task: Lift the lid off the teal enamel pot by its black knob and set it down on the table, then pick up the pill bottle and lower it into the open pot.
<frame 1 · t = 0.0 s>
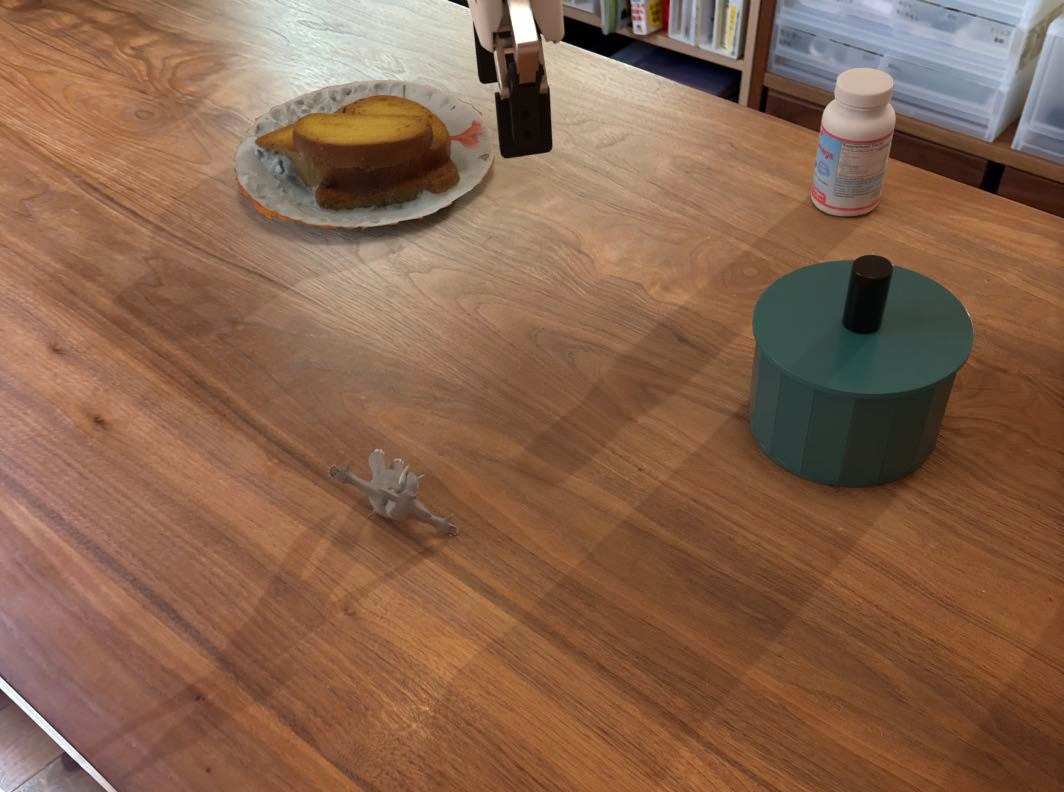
hand: (514, 114, 71), 22 cm above the table, tool pointing down, fingers open, 9 cm apart
food on plate: (368, 171, 109), on the table
pot: (841, 421, 81), on the table
lid: (860, 328, 75), point 8 cm above the table, touching pot
grey monster figurine: (391, 520, 78), on the table
pill bottle: (844, 202, 100), on the table
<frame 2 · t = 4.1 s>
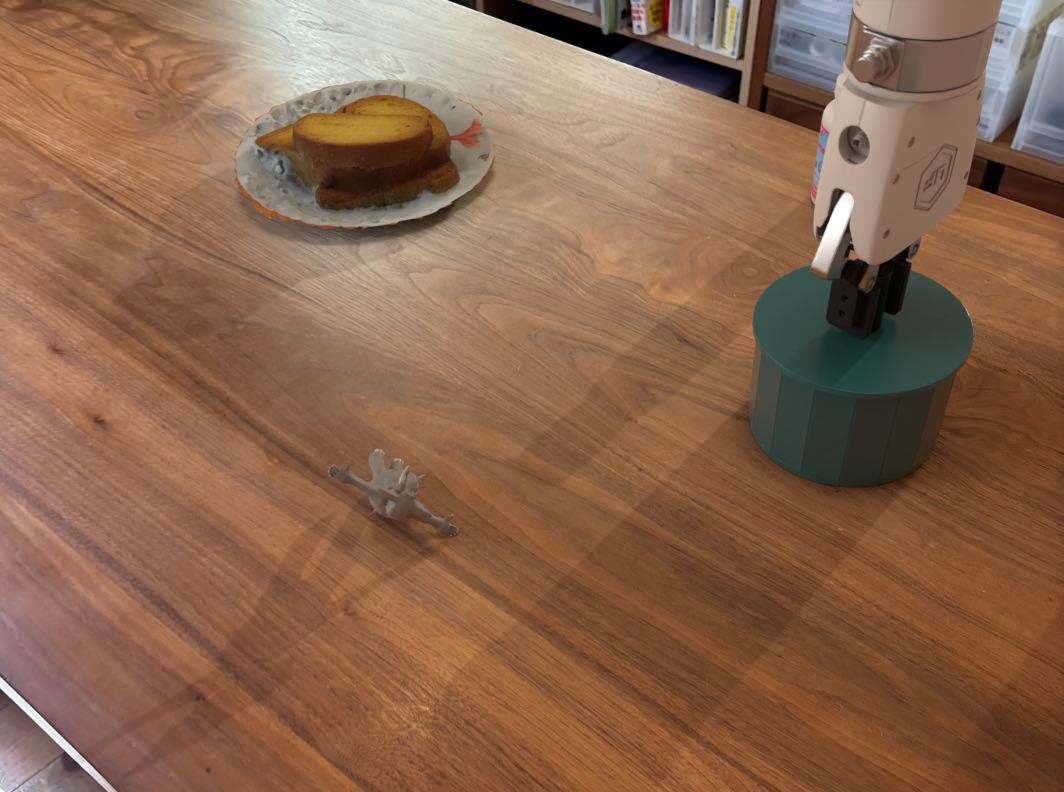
hand: (863, 315, 74), 10 cm above the table, tool pointing down, fingers closed on lid, 2 cm apart
lid: (860, 328, 75), point 9 cm above the table, touching gripper, pot
everything else where it was.
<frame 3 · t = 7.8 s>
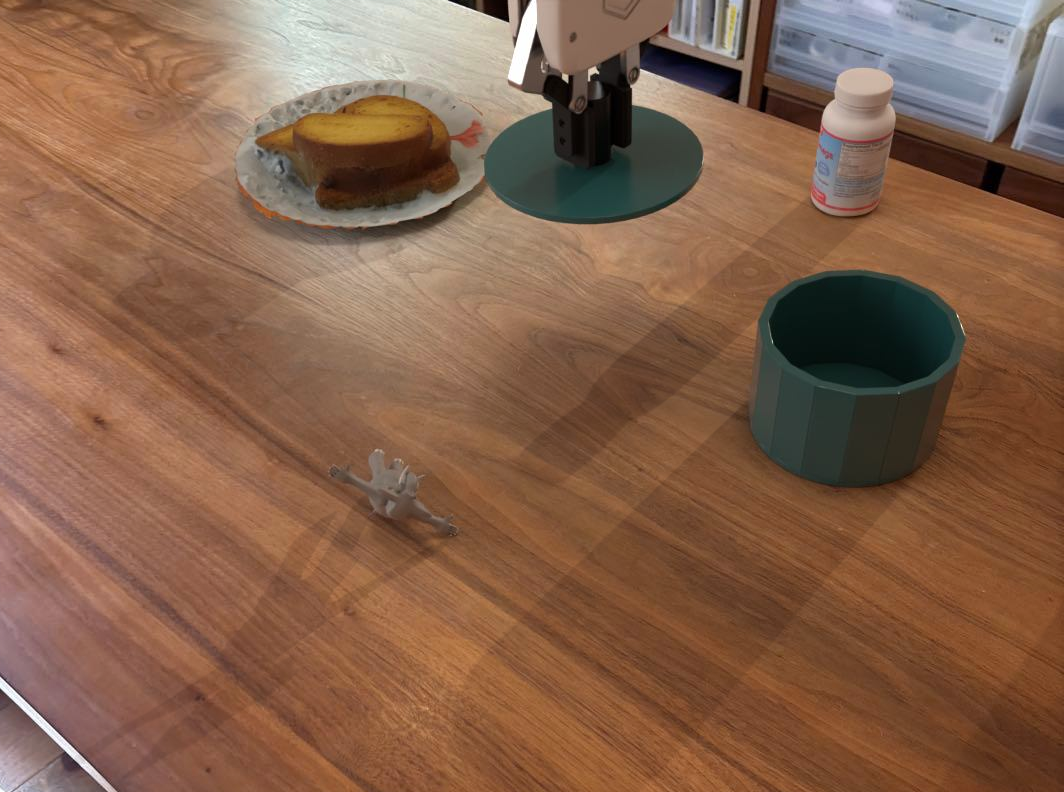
hand: (592, 148, 72), 19 cm above the table, tool pointing down, fingers closed on lid, 2 cm apart
lid: (593, 163, 73), point 18 cm above the table, touching gripper
everything else where it was.
when the fingers open (2 cm above the table, at t = 11.7 s): lid stays where it is, point 1 cm above the table.
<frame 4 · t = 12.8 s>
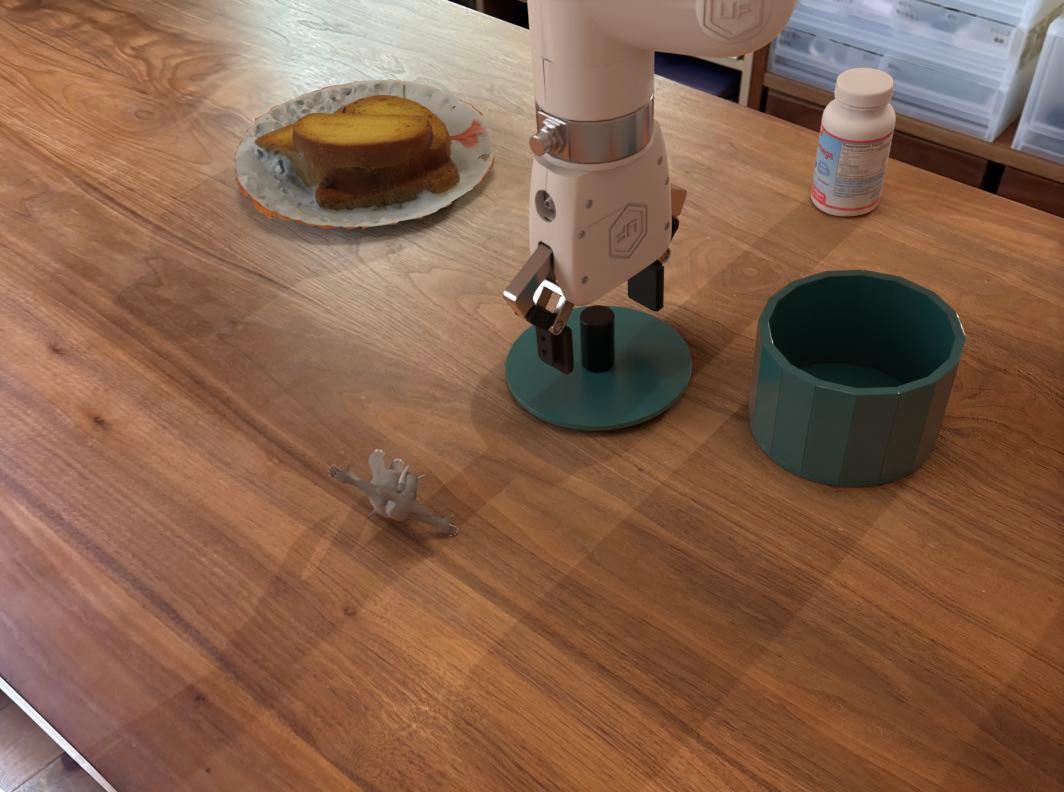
hand: (601, 333, 84), 4 cm above the table, tool pointing down, fingers open, 9 cm apart
lid: (598, 367, 86), point 1 cm above the table
everything else where it was.
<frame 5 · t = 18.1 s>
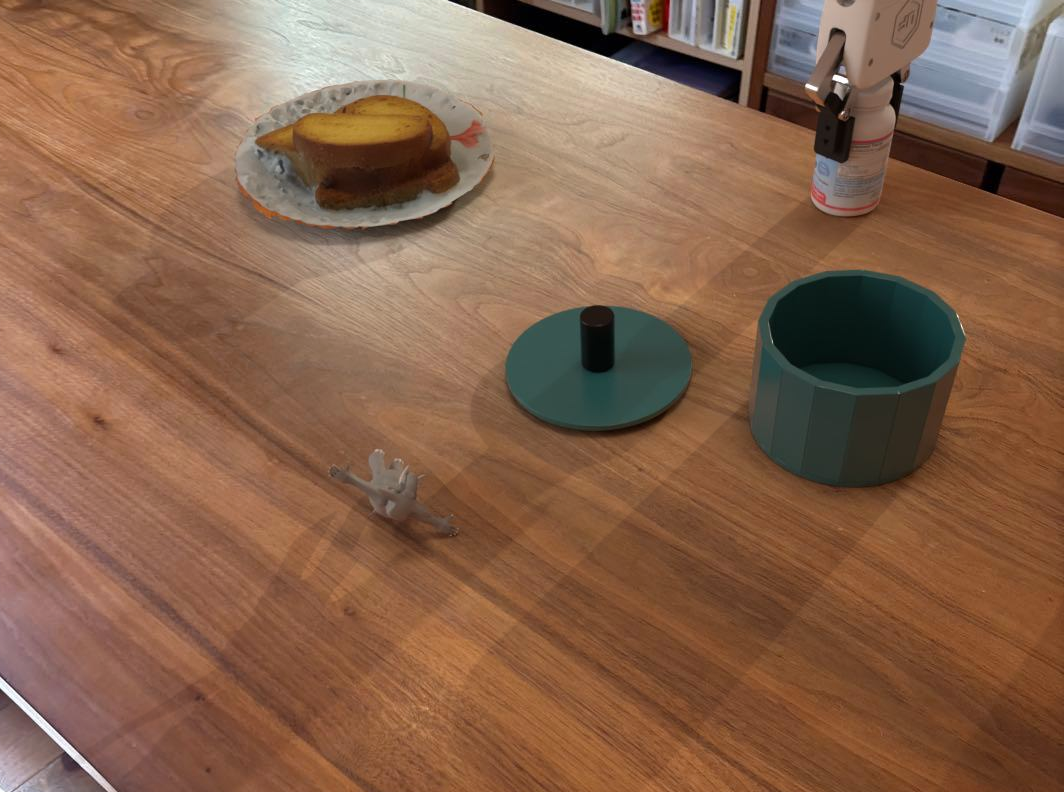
hand: (855, 139, 96), 6 cm above the table, tool pointing down, fingers closed on pill bottle, 6 cm apart
pill bottle: (844, 202, 100), on the table, touching gripper
everything else where it was.
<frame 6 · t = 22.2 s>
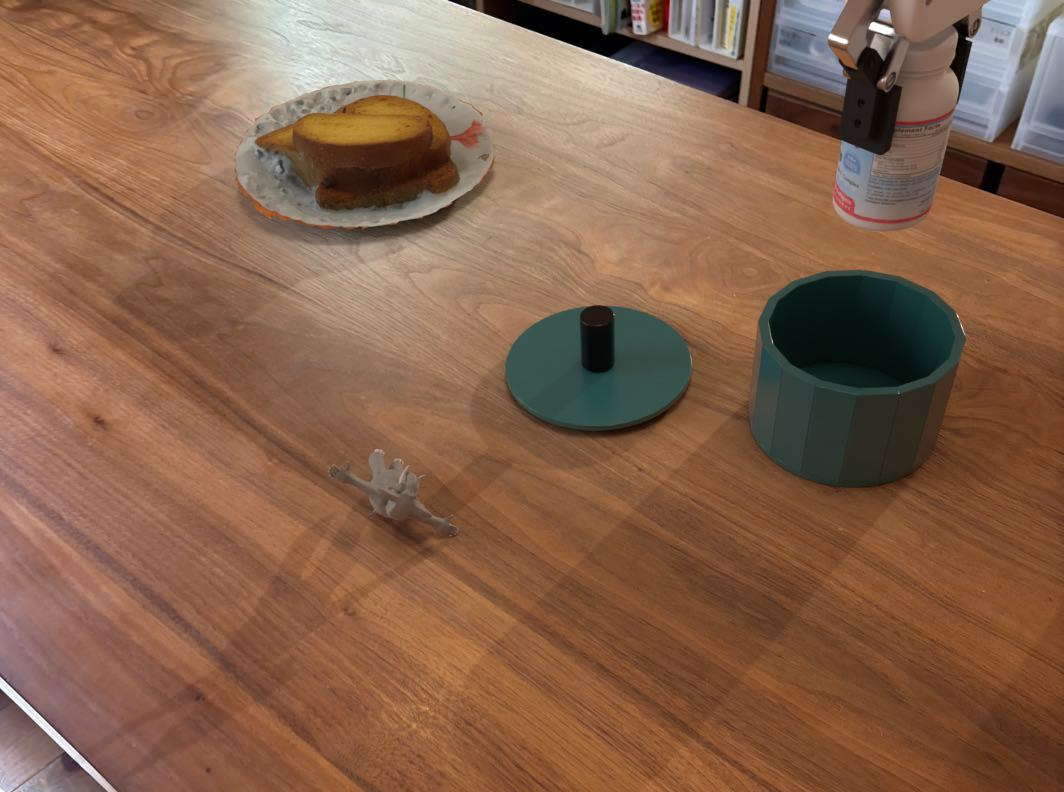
hand: (898, 120, 66), 22 cm above the table, tool pointing down, fingers closed on pill bottle, 6 cm apart
pill bottle: (880, 211, 71), point 16 cm above the table, touching gripper
everything else where it was.
when the fingers open (6 cm above the table, at t = 26.4 s): pill bottle stays where it is, resting on pot.
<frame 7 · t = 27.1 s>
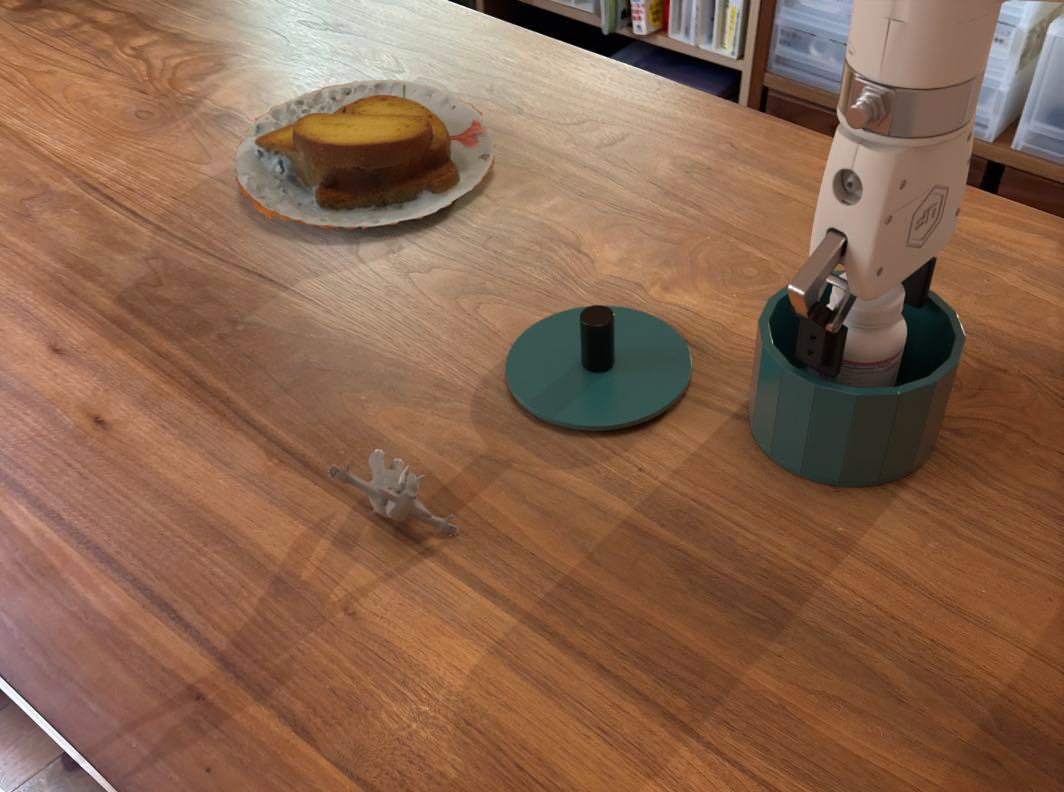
hand: (861, 332, 75), 8 cm above the table, tool pointing down, fingers open, 9 cm apart
pill bottle: (842, 417, 81), resting on pot
everything else where it was.
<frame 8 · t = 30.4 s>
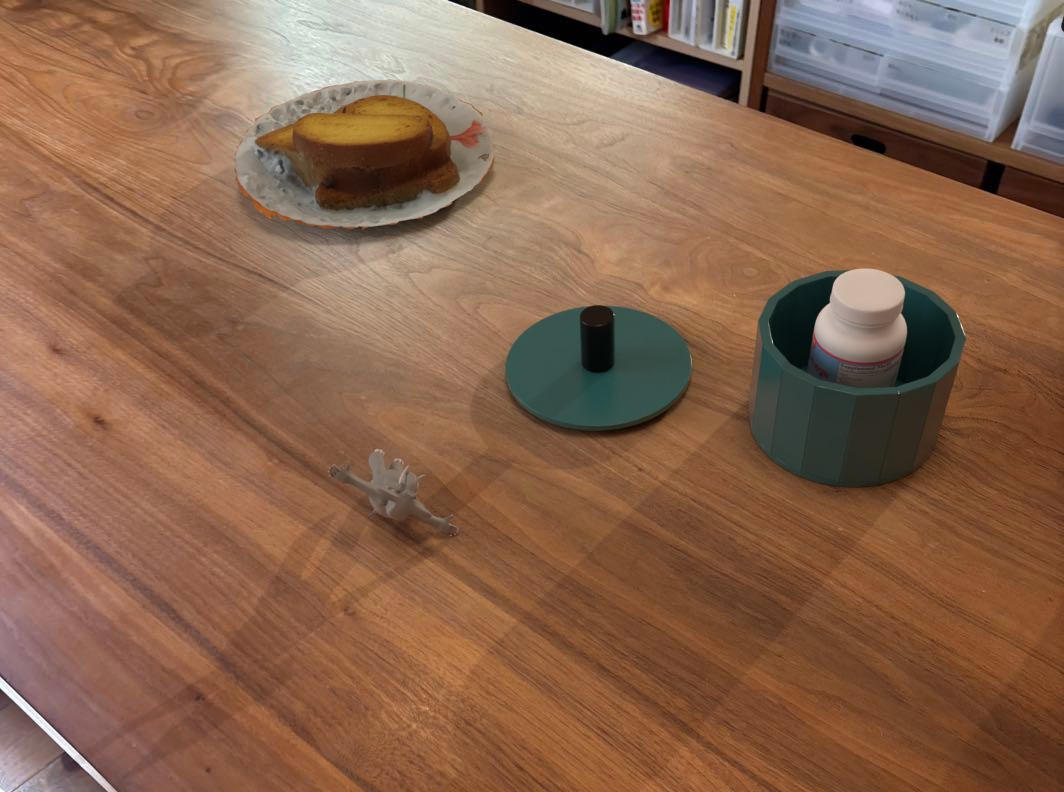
nothing on the table moved.
at the end: lid inside the target area (0.0 cm from its centre), point 0.6 cm above the table; pill bottle inside the target area in the pot (0.0 cm from its centre), point 0.3 cm above the pot's base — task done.
